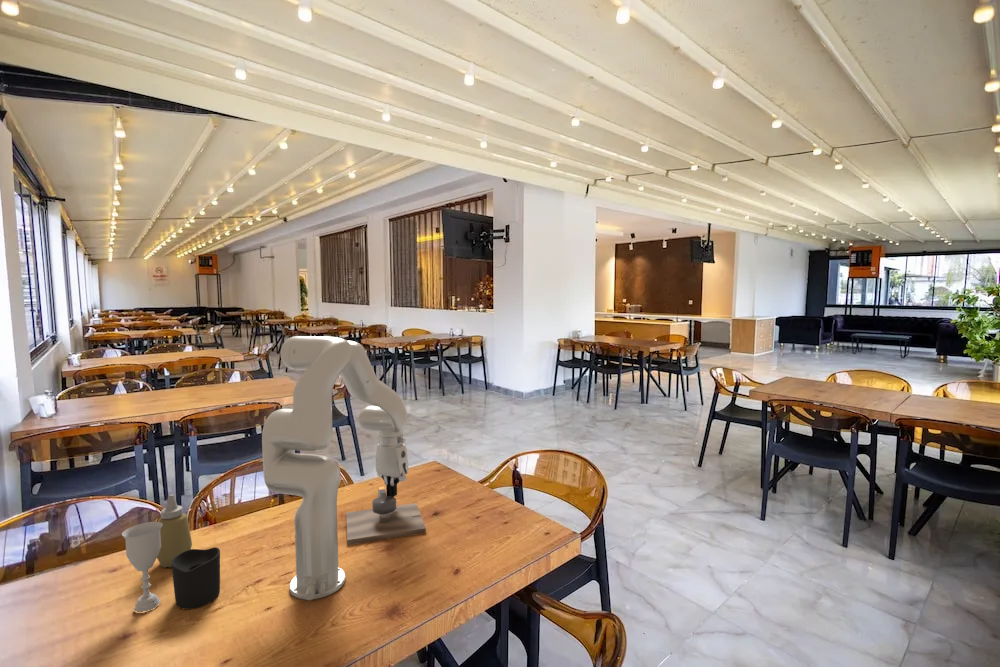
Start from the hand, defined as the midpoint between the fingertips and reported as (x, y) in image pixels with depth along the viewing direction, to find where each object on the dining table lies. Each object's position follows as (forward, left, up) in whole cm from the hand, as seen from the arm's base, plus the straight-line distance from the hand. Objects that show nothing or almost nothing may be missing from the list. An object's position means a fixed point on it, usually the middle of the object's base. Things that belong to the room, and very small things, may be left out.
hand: (391, 496), depth 155 cm
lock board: (-8, +3, -6) cm, 10 cm away
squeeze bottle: (-12, +57, -6) cm, 58 cm away
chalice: (-31, +57, -6) cm, 65 cm away
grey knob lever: (-3, +3, -3) cm, 5 cm away
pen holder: (-31, +47, -6) cm, 56 cm away
